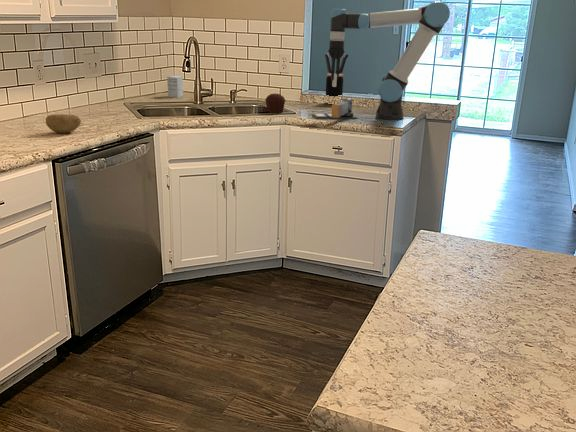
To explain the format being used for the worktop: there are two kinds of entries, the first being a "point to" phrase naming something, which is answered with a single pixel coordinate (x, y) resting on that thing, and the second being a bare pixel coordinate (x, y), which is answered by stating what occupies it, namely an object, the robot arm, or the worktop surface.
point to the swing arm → (342, 108)
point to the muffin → (275, 103)
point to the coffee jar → (334, 90)
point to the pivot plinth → (348, 116)
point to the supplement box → (175, 86)
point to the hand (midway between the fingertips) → (334, 86)
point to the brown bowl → (63, 123)
